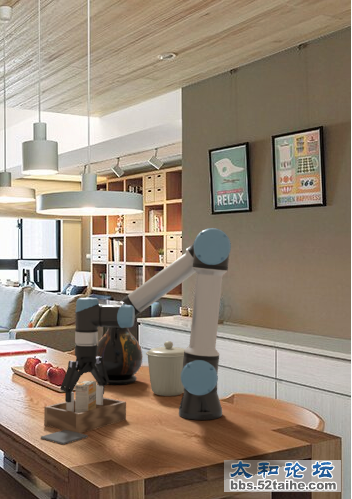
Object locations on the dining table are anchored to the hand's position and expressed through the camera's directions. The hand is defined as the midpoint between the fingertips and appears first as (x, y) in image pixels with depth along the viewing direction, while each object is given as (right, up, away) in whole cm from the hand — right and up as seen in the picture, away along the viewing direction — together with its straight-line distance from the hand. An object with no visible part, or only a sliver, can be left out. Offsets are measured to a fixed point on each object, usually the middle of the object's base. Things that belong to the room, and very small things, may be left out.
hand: (85, 408), depth 217 cm
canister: (+27, -5, +45) cm, 53 cm away
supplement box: (0, -5, 0) cm, 5 cm away
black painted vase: (+5, -5, +68) cm, 69 cm away
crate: (0, -5, 0) cm, 5 cm away
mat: (-4, -5, -18) cm, 19 cm away
